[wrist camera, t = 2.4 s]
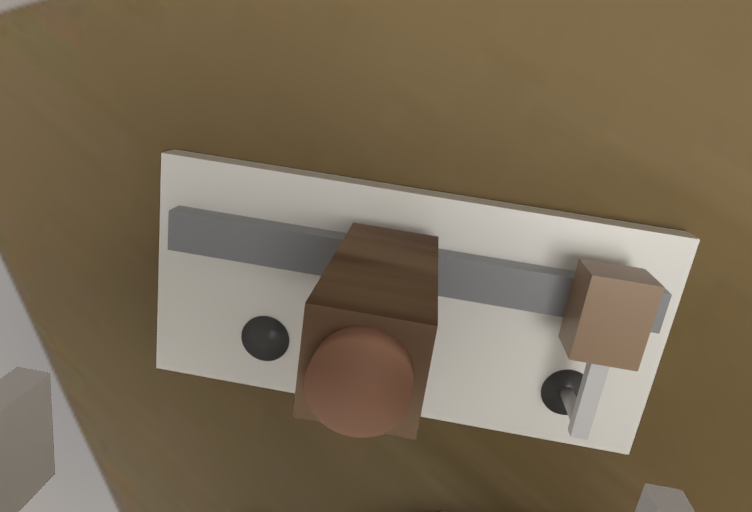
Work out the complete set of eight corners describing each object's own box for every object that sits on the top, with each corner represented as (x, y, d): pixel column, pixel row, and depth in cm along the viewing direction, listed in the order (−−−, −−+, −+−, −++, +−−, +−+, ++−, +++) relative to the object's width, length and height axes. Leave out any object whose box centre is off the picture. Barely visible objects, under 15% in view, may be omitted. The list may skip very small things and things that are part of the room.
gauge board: (620, 437, 32) (652, 502, 27) (168, 355, 33) (122, 402, 28) (686, 231, 28) (738, 263, 23) (174, 149, 30) (122, 163, 25)
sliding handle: (411, 376, 30) (394, 563, 18) (337, 362, 30) (273, 539, 19) (438, 229, 28) (437, 340, 16) (356, 216, 28) (297, 316, 16)
